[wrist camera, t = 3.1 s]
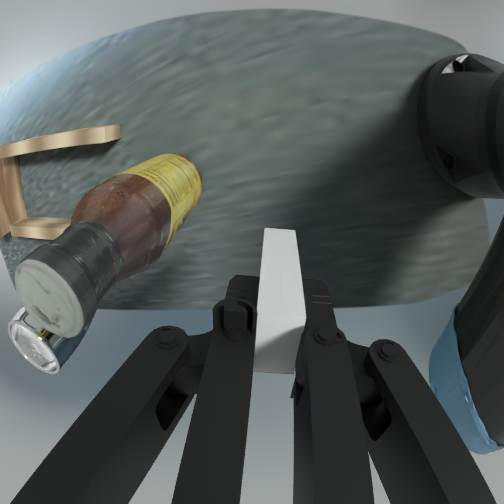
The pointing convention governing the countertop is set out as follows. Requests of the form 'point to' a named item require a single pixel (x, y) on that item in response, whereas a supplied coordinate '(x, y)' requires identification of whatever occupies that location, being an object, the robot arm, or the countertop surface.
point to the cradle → (9, 183)
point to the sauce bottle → (107, 241)
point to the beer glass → (43, 341)
